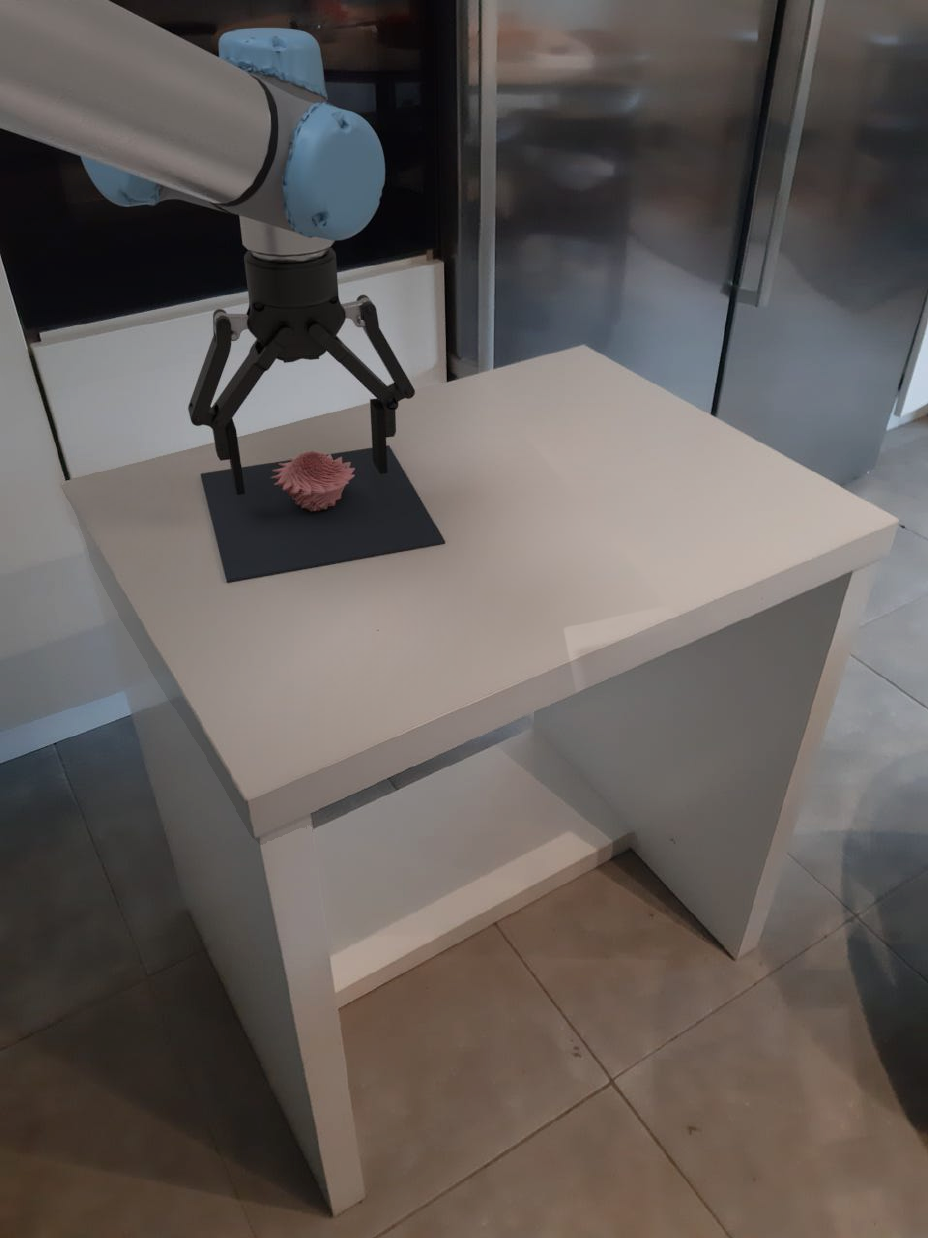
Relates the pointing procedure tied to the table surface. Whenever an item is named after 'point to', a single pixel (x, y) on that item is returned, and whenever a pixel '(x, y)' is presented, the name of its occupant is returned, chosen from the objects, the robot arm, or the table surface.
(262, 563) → the mat
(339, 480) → the flower
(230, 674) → the table surface
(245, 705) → the table surface
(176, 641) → the table surface
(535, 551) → the table surface
